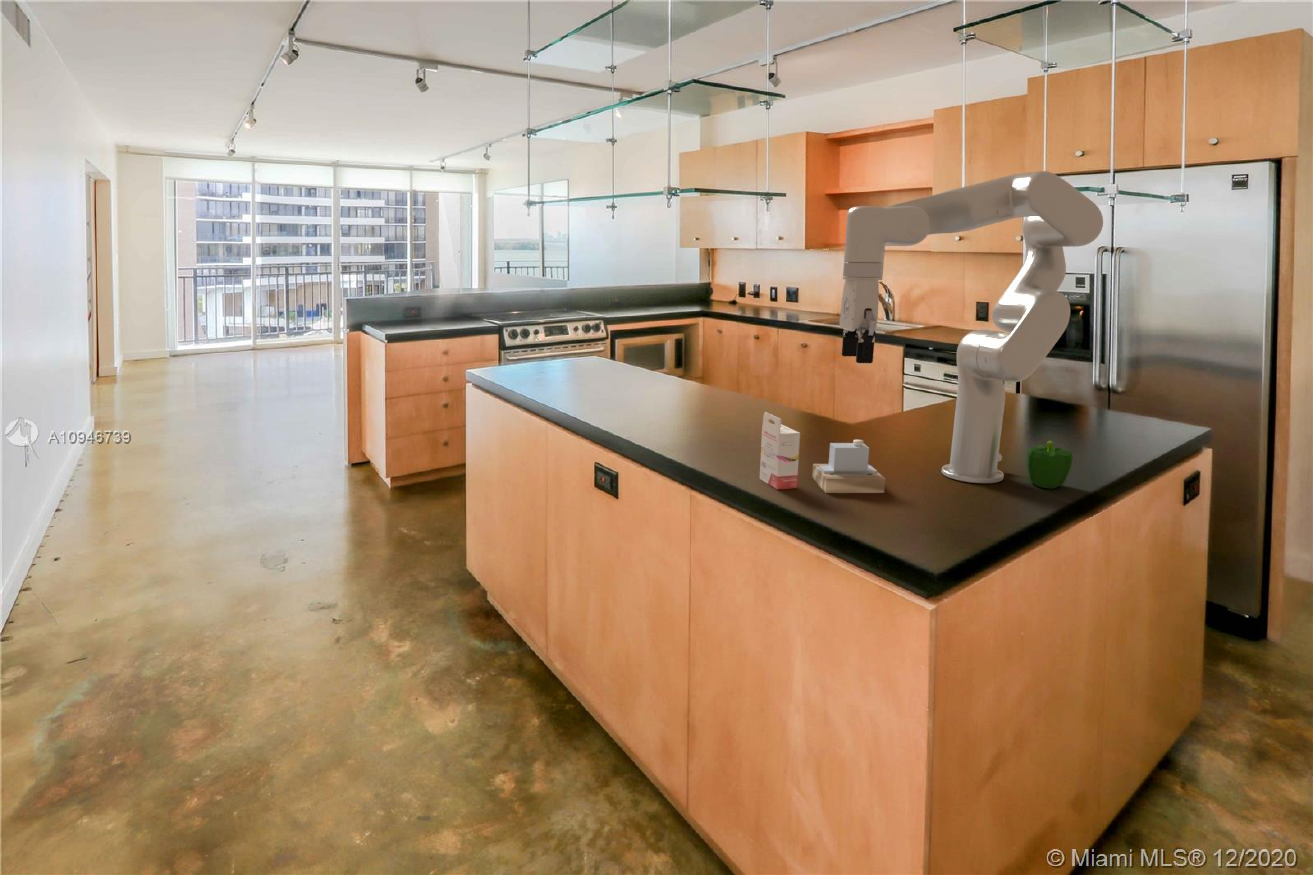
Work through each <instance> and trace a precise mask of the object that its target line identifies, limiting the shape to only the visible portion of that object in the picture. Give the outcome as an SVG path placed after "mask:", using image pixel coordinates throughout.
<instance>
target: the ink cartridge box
mask: <svg viewBox="0 0 1313 875" xmlns="http://www.w3.org/2000/svg"><path fill="white" fill-rule="evenodd" d="M770 421H772V422H774V423H771V422H770ZM761 427H762V428H761V442H760V447H761V448H760V463H759V464H760V465H759V467H760V468H759V479H760V481H762V482H764V483H765V484H767V485H769V486H770V487H772V488H774V489H775V490H788V489H790V490H791V489H797V488H798V478H799V476H798V475H799V461H800V460H799V458H800V441H801V440H800V439H801V432H799V431H798V430H797V431H796V430H795V429H792V428H790V427H788V426H786V425H784V424H782V418H780V417H778V416H775V415H773V414H772V413H769V412H767V411H764V414H763V418H762V426H761Z"/></svg>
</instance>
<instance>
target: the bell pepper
mask: <svg viewBox="0 0 1313 875" xmlns="http://www.w3.org/2000/svg"><path fill="white" fill-rule="evenodd" d="M1046 446H1047V447H1046ZM1046 446H1045V445H1038V446H1036V447H1034V446H1033V447H1030V449H1029V450H1028V451H1027V457H1026V466H1027V474H1028V479H1029V482H1030V483H1031V484H1034V485H1035V486H1037V487H1039V488H1044V489H1057V488H1058V487H1062V486H1063V484H1065V482H1066V480H1067V478H1068V476H1069V474H1070V471H1071V467H1072V464H1073V457H1074V456H1073V454H1072V451H1070V450H1069V451H1068V450H1065V449H1064V448H1062V447H1054V442H1053V440H1048V441H1047V442H1046Z"/></svg>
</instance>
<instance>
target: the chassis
mask: <svg viewBox="0 0 1313 875" xmlns="http://www.w3.org/2000/svg"><path fill="white" fill-rule="evenodd" d="M819 466H829V463H813V464H812V474H811V478H812V479H813V481H814V482H816V484H817V485H818V486H819V487H820V488H821V490H823V492H824V493H825V494H885V487H886V486H885V485H886V477H884V476H883V475H882V474H881V473H879V471H877V474H867V475H830V474H824V473H823V472H822V471H821V470H820V469H819ZM868 466H871V465H870V464H869V463H868Z"/></svg>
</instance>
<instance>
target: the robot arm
mask: <svg viewBox="0 0 1313 875" xmlns="http://www.w3.org/2000/svg"><path fill="white" fill-rule="evenodd" d="M1103 217H1104V216H1103V214H1102V211H1101V209H1100V208H1099V206H1098V205H1097V204H1096V203H1094V201H1092V200H1091V199H1090V198H1089V197H1087V196H1086V195H1085V194H1083V193H1082V192H1081V191H1080V190H1078V189H1077V188H1076V187H1074V186H1073V185H1071V183H1069V182H1068V181H1066V180H1065V179H1064V178H1062V177H1060V176H1058V175H1057V174H1055V173H1053V172H1050V171H1046V170H1038V171H1030V172H1024V173H1023V172H1022V173H1021V172H1020V173H1015V174H1010V175H1004V176H1001V177H997V178H994V179H993V178H992V179H989V180H986V181H982V182H978V183H975V184H971V185H967V186H961V187H959V188H954V189H950V190H946V191H943V192H940V193H936V194H932V195H929V196H924V197H920V198H916V199H912V200H908V201H907V200H906V201H903V202H898V203H895V204H893V205H888V206H877V205H876V206H875V205H859V206H853V207H851V208H849V210H848V211H847V215H846V226H845V228H846V230H845V242H844V253H843V254H844V256H843V258H844V259H843V268H842V270H843V272H842V280H844V284H843V290H842V297H841V305H840V315H839V324H838V325H839V327H840V328H841V329H843V331H842V345H841V356H842V357H855V362H856V363H857V364H873V362H874V351H875V350H874V347H875V341H876V338H875V336H876V333H877V332H876V329H877V325H878V319H879V318H878V317H879V316H878V315H879V300H880V298H879V292H880V290H879V289H880V288H879V287H880V286H879V281H883V277H884V276H883V275H884V263H885V252H886V247H910V246H911V247H912V246H915V245H918V244H920V243H922V242H923V241H924V240H925V239H926V238H927V237H928V236H929V235H937V234H955V233H961V232H967V231H968V232H969V231H972V230H975V229H979V228H980V229H981V228H983V227H986V226H989V225H993V224H997V223H1002V222H1004V221H1008V220H1009V221H1010V220H1013V219H1016V218H1018V219H1019V218H1025V219H1024V221H1023V226H1022V235H1023V239H1024V243H1025V244H1024V245H1025V259H1024V262H1023V264H1022V266H1021V268H1020V269H1019V270H1018V273H1017V274H1016V276H1015V277H1014V278H1013V279H1012V280H1011V282H1010V283H1009V285H1008V287H1007V288H1006V289H1005V290H1004V292H1003V293H1002V294H1001V296H1000V297H999V299H997V302H996V304H995V305H994V307H993V309H992V313H991V318H992V319H991V320H992V322H993V323H994V325H995V326H996V328H998V329H1000V330H1001V331H999V330H994V329H993V330H991V329H977V330H973V331H970V332H969V333H967V334H965V335H964V337H963V338H962V339H960V341H959V344H958V345H957V349H956V368H957V392H956V402H955V411H954V412H955V413H954V421H953V429H952V430H953V432H952V439H951V440H952V441H951V449H950V459H949V463H948V464H947V463H946V464H944V465H943V466H941V471H940V472H941V473H942V475H943V476H945V477H947V478H949V479H952V480H956V481H960V482H966V483H972V484H973V483H974V484H994V483H995V484H996V483H999V482H1002V481H1003V480H1004V478H1005V477H1004V476H1005V474H1004V472H1003V471H1002V470H1000V469H998V462H1001V461H1002V460H1003V456H1002V454H1001V453H999V452H1000V443H1001V436H1002V428H1003V427H1002V426H1003V419H1004V418H1003V417H1004V411H1005V404H1006V403H1005V402H1006V389H1005V385H1004V382H1007V383H1008V382H1009V383H1017V382H1022V381H1023V380H1025V379H1027V378H1029V377H1030V376H1031V375H1033V373H1034V372H1035V371H1036V370H1037V369H1038V368H1039V366H1040V365H1041V364H1042V363H1043V361H1044V360H1045V359H1046V357H1047V356H1048V354H1049V353H1050V352H1051V350H1053V347H1055V345H1056V343H1058V341H1059V340H1060V338H1061V337H1062V335H1063V334H1064V332H1065V331H1066V329H1067V327H1068V325H1069V322H1070V317H1071V305H1070V302H1069V300H1068V298H1067V297H1066V295H1064V294H1063V293H1061V292H1059V291H1058V290H1059V288H1060V286H1061V285H1062V283H1063V282H1064V279H1065V276H1066V273H1067V264H1066V263H1067V262H1066V259H1065V252H1064V248H1063V247H1067V248H1069V247H1073V248H1075V247H1084V246H1086V245H1089V244H1091V243H1092V242H1094V241H1095V240H1096V239H1098V237H1099V235H1100V234H1101V233H1102V231H1103V227H1104V219H1103Z"/></svg>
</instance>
